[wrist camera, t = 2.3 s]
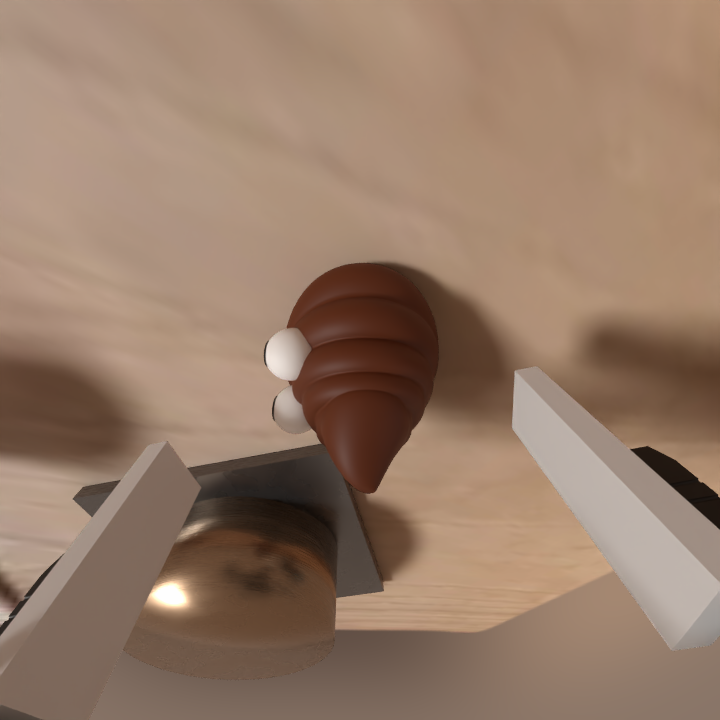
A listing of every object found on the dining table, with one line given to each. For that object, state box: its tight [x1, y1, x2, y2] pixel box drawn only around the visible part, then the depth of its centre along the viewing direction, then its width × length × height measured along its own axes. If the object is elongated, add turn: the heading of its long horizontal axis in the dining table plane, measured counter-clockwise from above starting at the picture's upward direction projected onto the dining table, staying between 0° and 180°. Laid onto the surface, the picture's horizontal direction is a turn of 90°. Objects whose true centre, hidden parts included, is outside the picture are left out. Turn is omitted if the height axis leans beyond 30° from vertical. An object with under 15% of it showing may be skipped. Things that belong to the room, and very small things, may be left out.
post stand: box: [73, 444, 384, 680], centre depth 24 cm, size 20×20×7 cm
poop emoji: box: [264, 263, 439, 494], centre depth 14 cm, size 10×8×9 cm
